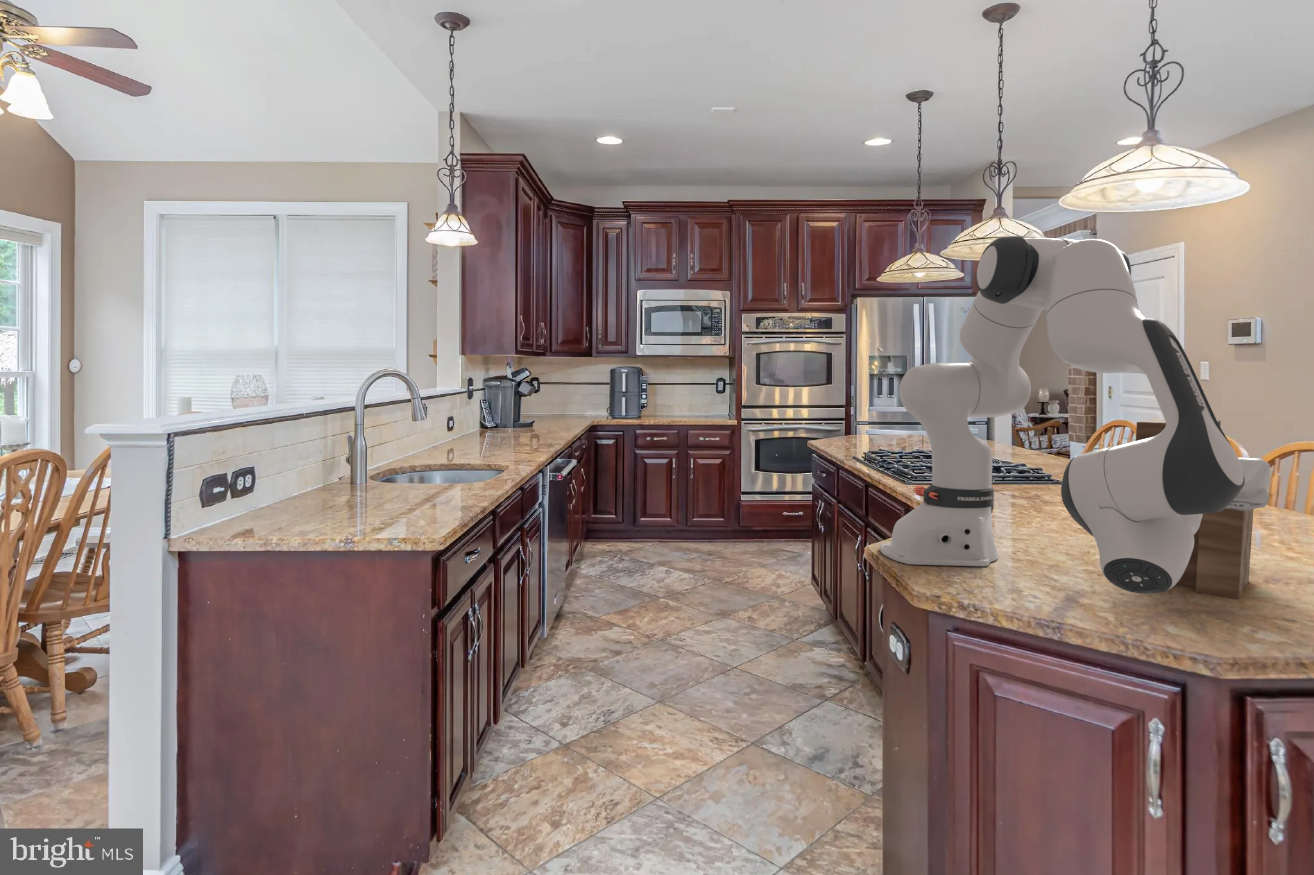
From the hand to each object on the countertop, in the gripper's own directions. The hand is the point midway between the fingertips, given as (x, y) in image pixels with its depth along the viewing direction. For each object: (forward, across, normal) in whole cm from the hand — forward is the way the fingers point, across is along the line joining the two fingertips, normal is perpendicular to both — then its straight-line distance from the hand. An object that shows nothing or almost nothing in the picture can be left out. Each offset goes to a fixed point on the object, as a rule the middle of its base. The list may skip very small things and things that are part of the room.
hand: (1183, 444), depth 101 cm
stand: (+11, +2, +36) cm, 37 cm away
